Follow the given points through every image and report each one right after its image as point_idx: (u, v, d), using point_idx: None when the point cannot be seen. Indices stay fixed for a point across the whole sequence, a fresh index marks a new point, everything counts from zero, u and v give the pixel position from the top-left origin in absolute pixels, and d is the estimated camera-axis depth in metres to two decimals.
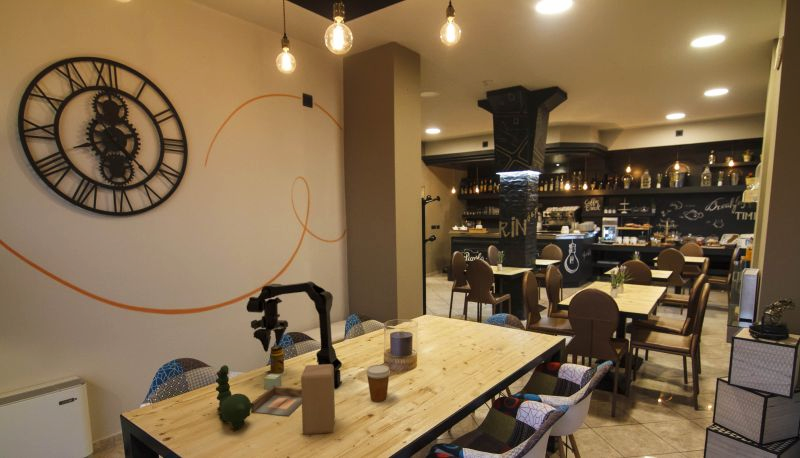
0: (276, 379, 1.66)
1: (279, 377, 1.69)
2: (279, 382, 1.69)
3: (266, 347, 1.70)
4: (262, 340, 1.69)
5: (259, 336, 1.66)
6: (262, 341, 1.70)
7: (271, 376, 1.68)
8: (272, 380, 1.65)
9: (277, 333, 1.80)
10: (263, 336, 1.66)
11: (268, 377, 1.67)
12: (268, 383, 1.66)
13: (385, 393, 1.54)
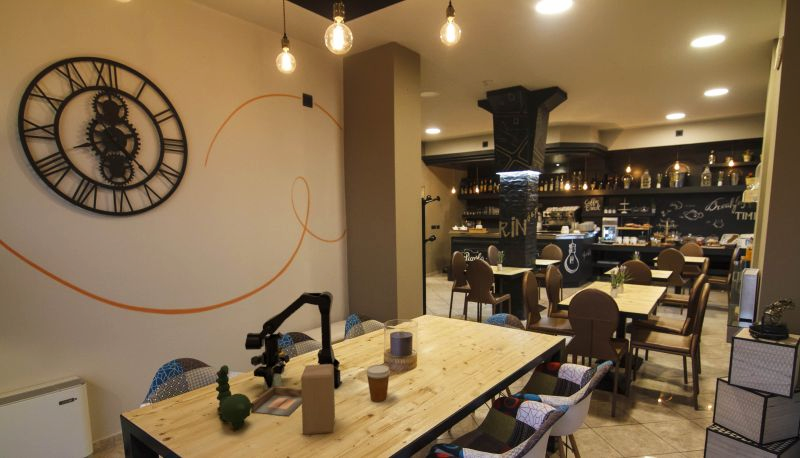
0: (276, 379, 1.66)
1: (279, 377, 1.69)
2: (279, 382, 1.69)
3: (269, 383, 1.65)
4: (265, 376, 1.64)
5: (259, 375, 1.59)
6: (265, 377, 1.64)
7: None
8: None
9: (276, 370, 1.71)
10: (264, 375, 1.58)
11: None
12: None
13: (385, 393, 1.54)
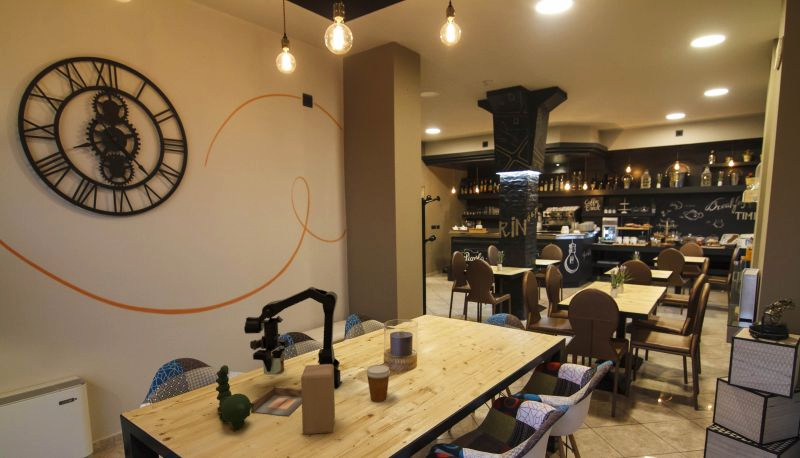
0: (275, 363, 1.66)
1: (278, 361, 1.68)
2: (278, 366, 1.68)
3: (269, 367, 1.64)
4: (264, 360, 1.64)
5: (259, 358, 1.59)
6: (264, 361, 1.64)
7: None
8: None
9: (275, 355, 1.71)
10: (263, 358, 1.58)
11: None
12: None
13: (385, 393, 1.54)
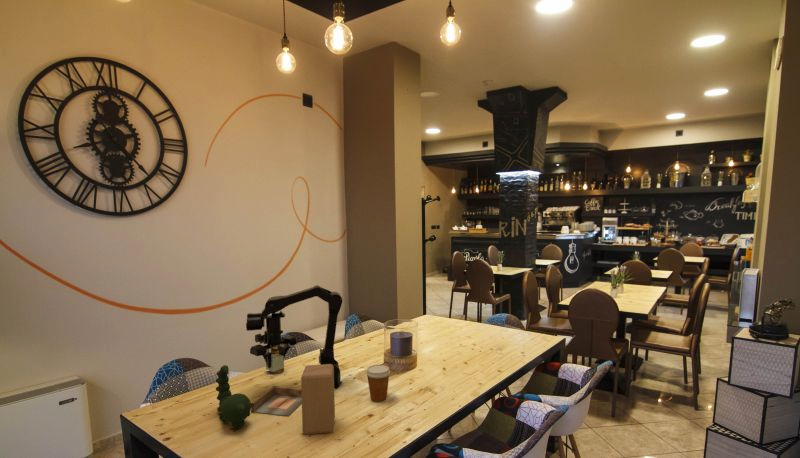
0: (275, 360, 1.61)
1: (280, 358, 1.63)
2: (280, 364, 1.63)
3: (268, 363, 1.60)
4: (264, 356, 1.61)
5: (253, 353, 1.56)
6: (264, 357, 1.61)
7: (273, 356, 1.63)
8: (271, 360, 1.61)
9: (280, 351, 1.66)
10: (256, 354, 1.55)
11: None
12: None
13: (385, 393, 1.54)
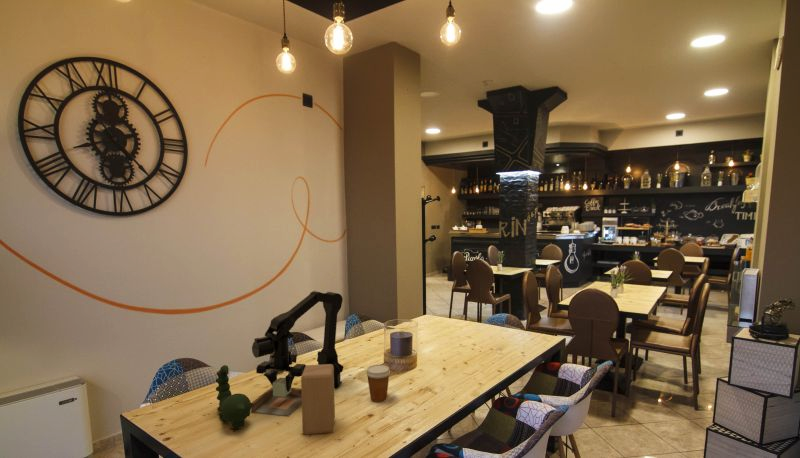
0: (275, 384, 1.50)
1: (281, 385, 1.50)
2: (281, 391, 1.50)
3: None
4: None
5: None
6: None
7: (281, 379, 1.53)
8: None
9: None
10: None
11: (279, 379, 1.54)
12: None
13: (385, 393, 1.54)
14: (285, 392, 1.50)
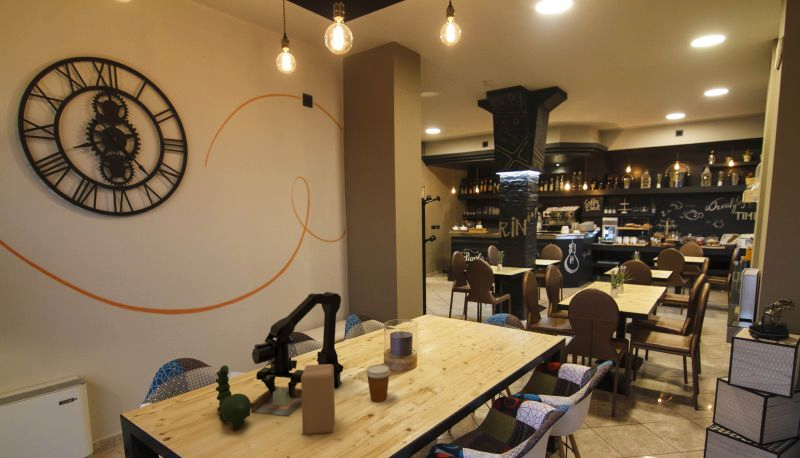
0: (275, 394, 1.51)
1: (281, 395, 1.50)
2: (281, 400, 1.50)
3: None
4: None
5: None
6: None
7: (281, 389, 1.53)
8: None
9: None
10: None
11: (280, 388, 1.54)
12: None
13: (385, 393, 1.54)
14: (285, 402, 1.50)
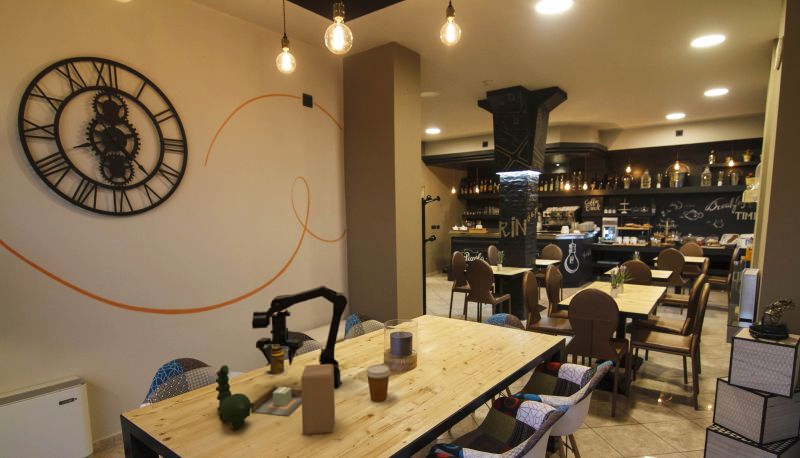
0: (275, 394, 1.51)
1: (281, 395, 1.50)
2: (281, 400, 1.50)
3: None
4: None
5: None
6: None
7: (281, 389, 1.53)
8: None
9: None
10: None
11: (280, 388, 1.54)
12: None
13: (385, 393, 1.54)
14: (285, 402, 1.50)
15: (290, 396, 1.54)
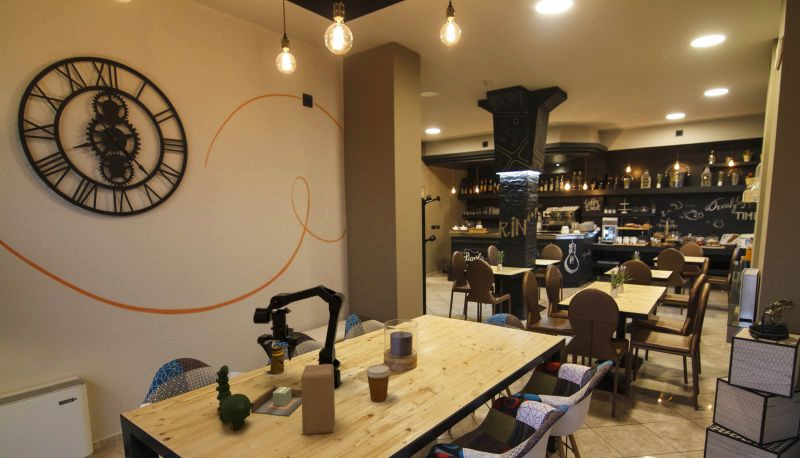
0: (275, 394, 1.51)
1: (281, 395, 1.50)
2: (281, 400, 1.50)
3: None
4: None
5: None
6: None
7: (281, 389, 1.53)
8: None
9: None
10: None
11: (280, 388, 1.54)
12: None
13: (385, 393, 1.54)
14: (285, 402, 1.50)
15: (290, 396, 1.54)
